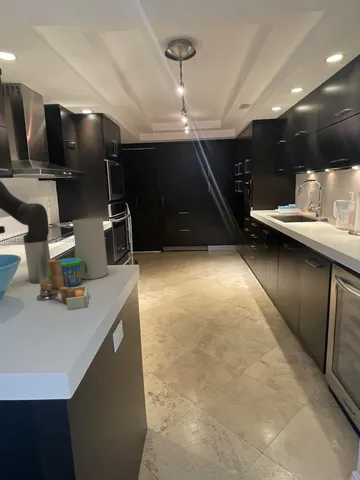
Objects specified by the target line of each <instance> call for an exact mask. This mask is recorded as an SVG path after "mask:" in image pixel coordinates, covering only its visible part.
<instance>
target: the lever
mask: <svg viewBox="0 0 360 480" xmlns="http://www.w3.org/2000/svg"><path fill="white" fill-rule="evenodd" d="M57 260H58V259H50V260H49V261H47V262H48V270H49V277H50V281H46V282H42V283H39V286H40V287H39V288H40V290H48V291H52V292H56V293H58V295H59V294H60V295H61V302H62V304H65V305H67V301H66V299H67V298H73V297H76V295H75V289H71V288H72V287H64V283H63V275H62V267H61V261H57Z"/></svg>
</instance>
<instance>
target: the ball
mask: <svg viewBox="0 0 360 480" xmlns="http://www.w3.org/2000/svg"><path fill="white" fill-rule="evenodd" d="M75 295H76V297H81V296H84V291H82V290H77V291H75Z"/></svg>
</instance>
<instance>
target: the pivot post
mask: <svg viewBox="0 0 360 480" xmlns="http://www.w3.org/2000/svg"><path fill="white" fill-rule="evenodd" d="M58 296H59V293H56V292H52V291H48V290H41V289H40V290H39V295H37V296H36V300H37V301H40V302H42V301H50V300H52V299H55V298H58Z"/></svg>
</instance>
